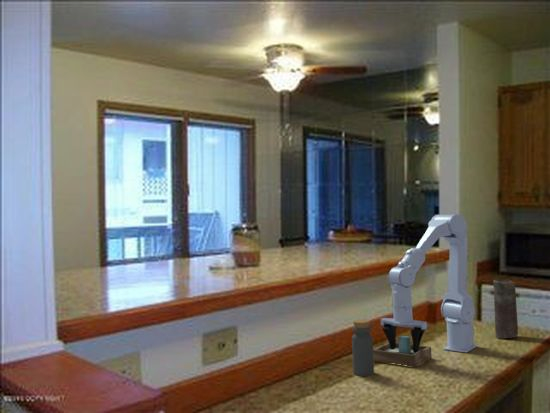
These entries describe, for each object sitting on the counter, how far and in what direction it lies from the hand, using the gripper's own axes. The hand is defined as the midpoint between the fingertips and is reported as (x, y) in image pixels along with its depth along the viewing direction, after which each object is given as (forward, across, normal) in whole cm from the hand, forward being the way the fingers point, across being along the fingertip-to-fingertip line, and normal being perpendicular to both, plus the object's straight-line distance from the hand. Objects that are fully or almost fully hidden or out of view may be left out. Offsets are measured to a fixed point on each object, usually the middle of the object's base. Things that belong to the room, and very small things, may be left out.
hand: (404, 350), depth 174 cm
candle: (+3, +17, +44) cm, 47 cm away
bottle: (+3, -4, -18) cm, 19 cm away
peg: (+3, 0, 0) cm, 3 cm away
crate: (+3, -1, 0) cm, 3 cm away
